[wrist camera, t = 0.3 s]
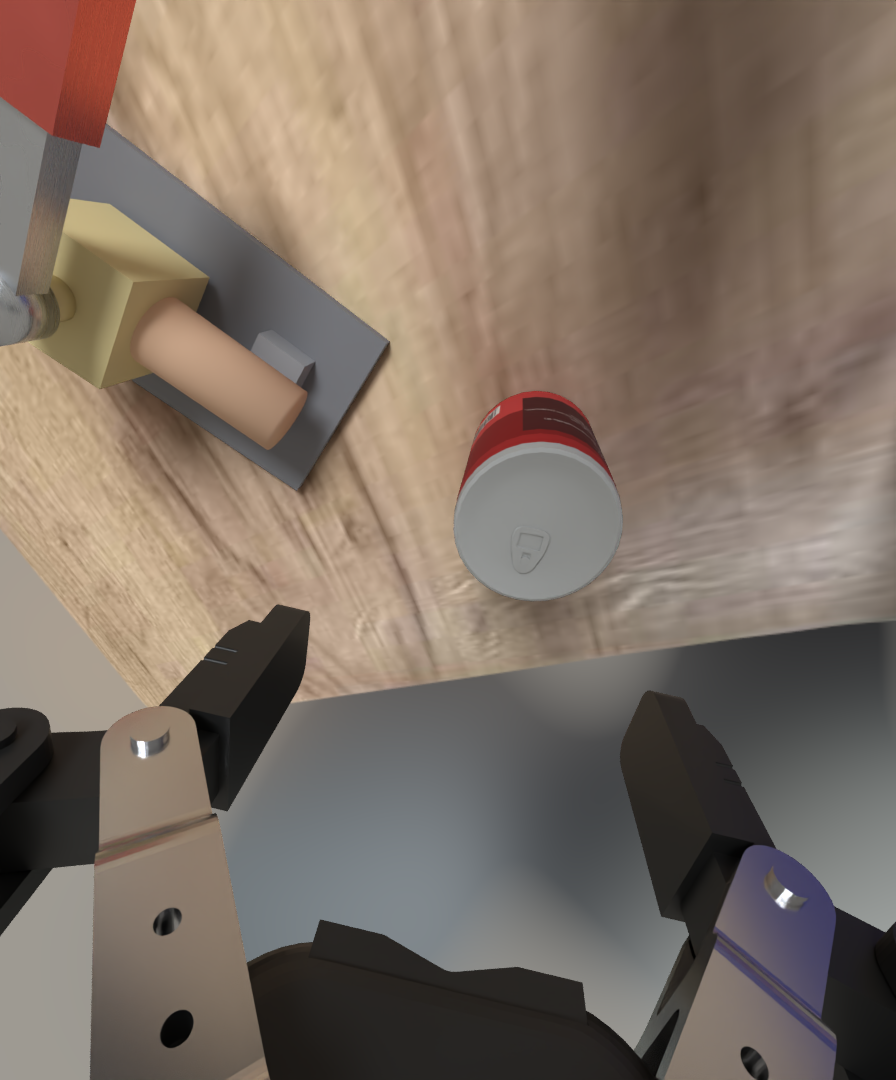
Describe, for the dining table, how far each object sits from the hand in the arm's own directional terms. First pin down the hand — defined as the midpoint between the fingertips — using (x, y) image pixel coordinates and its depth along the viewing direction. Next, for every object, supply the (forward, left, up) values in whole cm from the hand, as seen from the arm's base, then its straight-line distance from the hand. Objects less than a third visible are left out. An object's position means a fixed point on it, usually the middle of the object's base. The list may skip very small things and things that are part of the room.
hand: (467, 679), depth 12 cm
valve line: (+6, -21, -22) cm, 32 cm away
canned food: (0, +3, -23) cm, 23 cm away
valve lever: (+1, -21, -13) cm, 25 cm away
